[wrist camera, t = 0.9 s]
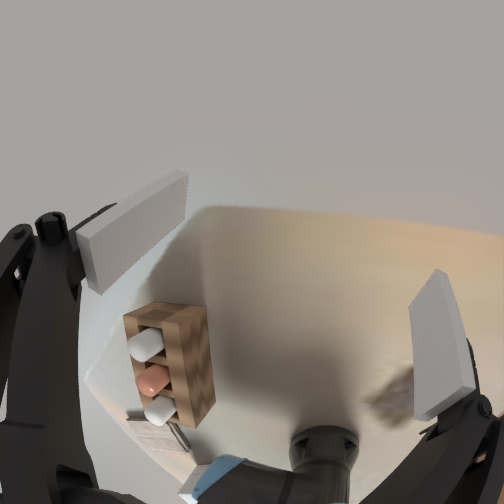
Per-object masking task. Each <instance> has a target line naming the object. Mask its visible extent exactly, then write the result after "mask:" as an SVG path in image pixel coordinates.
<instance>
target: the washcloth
mask: <svg viewBox="0 0 504 504" xmlns="http://www.w3.org/2000/svg"><path fill="white" fill-rule="evenodd" d="M126 421H127V423H128V424H129V425H130V427H131V428H132V429H133V430H134V432H135V433H136V434H137V435H138V438H139V439H140V441H141V442H142V444H143V445H144V446H145V448H147V449H151V450H160V451H169V452H179V453H188V452H189V449H191V448H190V447H189V444H188V442H187V440H186V439H185V437H184V436H183V434H182V433H181V431H180V430H179V428H178V426H177V425H176V423H174V422H170V421H166V422H165V423H164V424H163V425H162V426H157V425H154V424H153V423H151V422H150V421H149V420H148V419H147V418H146V417H129V418H127V419H126Z"/></svg>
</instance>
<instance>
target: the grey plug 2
mask: <svg viewBox="0 0 504 504" xmlns="http://www.w3.org/2000/svg"><path fill="white" fill-rule="evenodd" d="M176 411H177V408H176V403H175V398H171V397H168V396H164V395H159V396H158V397H157V398H156V399H155V400H154V401H153V402H151V403H150V404H149V405H148V406H147V407H146V408H145V409H144V414H145V416H146V418H147V419H148V420H149V421H150V422H151V423H153V424H154V425H157V426H162V425H163V424H164V423H165V422H166V421H167V420H168V419H169V418H170V417H171V416H172V415H173V414H174V413H175V412H176Z"/></svg>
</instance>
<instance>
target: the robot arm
mask: <svg viewBox="0 0 504 504" xmlns="http://www.w3.org/2000/svg"><path fill="white" fill-rule="evenodd" d="M187 184H188V173H185V172H182V171H179V170H175V171H173V172H171V173H169V174H167V175H165V176H164V177H162V178H160V179H158V180H156V181H155V182H153V183H151V184H149V185H148V186H146V187H144V188H142V189H141V190H139V191H137V192H136V193H134V194H132V195H130V196H129V197H127V198H126V199H124V200H122V201H121V202H119V203H114V204H111V205H108V206H105V207H104V208H102V209H100V210H99V211H98V212H97V213H94V214H93V215H91V217H88V218H87V219H85V220H84V221H82V222H81V223H79V224H78V225H76V226H75V227H73V228H72V229H71V230H69V231H68V229H67V224H66V218H65V215H64V214H63V213H61V212H49V213H46V214H44V215H42V216H41V217H39V218H38V219H37V220H36V222H35V226H36V230H37V234H38V236H35V235H34V234H33V230H32V227H31V226H30V225H29V224H19V225H17V226H15V227H14V228H12V229H11V230H10V231H9V232H8V233H7V235H6V236H5V237H4V239H3V240H2V241H1V243H0V406H1V402H2V397H3V393H4V389H5V385H6V382H7V378H8V384H7V386H8V387H7V413H6V418H5V420H4V421H2V422H0V482H1V488H2V493H0V504H146V503H144V502H143V501H141V500H139V499H137V498H135V497H134V496H132V495H130V494H120V493H117V492H113V491H109V490H103V489H99V486H98V483H97V478H96V474H95V470H94V466H93V462H92V460H91V457H90V455H89V453H88V451H87V449H86V446H85V443H84V436H83V429H82V421H81V411H80V400H79V385H78V384H79V383H78V331H79V313H80V300H81V291H82V286H81V281H82V280H83V279H84V278H85V277H86V279H87V283H88V286H89V288H91V289H92V290H94V291H95V292H97V293H98V294H100V295H102V294H103V293H104V292H105V291H106V290H107V289H108V288H109V287H110V286H111V285H112V284H113V283H115V282H116V281H117V280H118V279H119V278H120V277H121V276H122V275H123V274H124V273H125V272H126V271H127V270H128V269H129V268H130V267H131V266H132V265H133V264H134V263H136V262H137V261H138V260H139V259H140V258H141V257H142V256H143V255H144V254H145V253H146V252H148V251H149V250H150V249H151V248H152V247H153V246H154V245H156V244H157V243H158V242H159V241H160V240H161V239H162V238H163V237H164V236H166V235H167V234H168V233H169V232H170V231H172V230H173V229H174V228H175V227H176V226H177V225H178V224H180V223H181V222H182V221H183V220H184V215H185V204H186V193H187ZM16 269H18V271H19V274H20V275H19V277H18V278H17V279H16V277H15V275H14V272H15V270H16ZM409 315H410V323H411V333H412V345H413V361H414V420H419V421H426V422H428V421H429V420H431V419H433V418H434V417H436V416H437V415H438V422H437V423H435V424H433V425H432V426H430V427H428V428H426V429H425V430H423V431H421V432H420V433H419V434H420V435H421V434H423V433H425V432H427V433H426V434H425V435H424V437H422V439H421V440H420V442H419V443H418V444H417V445H416V447H415V448H414V449H413V450H412V451H411V452H410V454H409V455H408V456H407V457H406V458H405V459H404V460H403V461H402V463H401V464H400V465H399V466H398V467H397V468H396V469H395V470H394V471H393V472H392V473H391V474H390V475H389V476H388V477H387V478H386V479H385V480H384V481H383V482H382V483H381V484H380V485H379V486H378V487H377V488H376V489H375V490H373V491H372V492H371V493H370V494H369V495H368V496H367V497H366V498H364V499H363V500H362V501H361V502H360V503H359V504H497V501H498V498H499V496H500V493H501V490H502V487H503V483H504V414H503V415H502V416H501V417H499V418H497V417H496V416H494V415H493V414H492V407H491V403H490V401H489V400H488V398H487V397H486V396H484V395H482V394H481V395H480V388H479V381H478V375H477V369H476V368H475V366H476V364H475V360H474V354H473V350H472V347H471V345H470V343H469V341H468V339H467V338H466V334H465V331H464V327H463V323H462V319H461V316H460V312H459V309H458V305H457V302H456V299H455V296H454V293H453V290H452V287H451V284H450V281H449V278H448V276H447V274H446V273H444V272H442V271H440V270H438V269H435V271H434V272H433V274H432V275H431V277H430V278H429V279H428V281H427V282H426V284H425V285H424V287H423V288H422V289H421V291H420V292H419V293H418V295H417V296H416V297H415V299H414V300H413V301H412V303H411V304H410V305H409ZM358 453H359V443H358V440H357V438H356V436H355V435H354V434H353V433H351V432H350V431H348V430H346V429H343V428H340V427H335V426H319V427H314V428H310V429H307V430H305V431H303V432H301V433H300V434H298V435H297V436H296V437H295V438H294V439H293V441H292V443H291V446H290V450H289V458H290V463H291V468H292V472H291V471H287V470H282V469H278V468H274V467H270V466H267V465H263V464H260V463H256V462H253V461H250V460H248V459H247V458H244V459H243V458H240V457H236V456H233V455H229V454H224V455H221V456H219V457H218V458H216V459H215V460H214V461H213V462H212V463H211V464H210V465H209V467H208V468H207V469H206V470H205V472H204V473H203V474H202V476H201V477H200V479H199V480H198V482H197V483H196V486H195V488H194V489H193V491H192V498H193V499H194V500H195V501H198V502H197V504H349V492H350V472H351V470H352V468H353V466H354V463H355V461H356V459H357V457H358ZM484 454H486V456H485V459H484V460H483V461H481V462H478V463H477V459H478V457H480V456H482V455H484Z"/></svg>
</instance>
